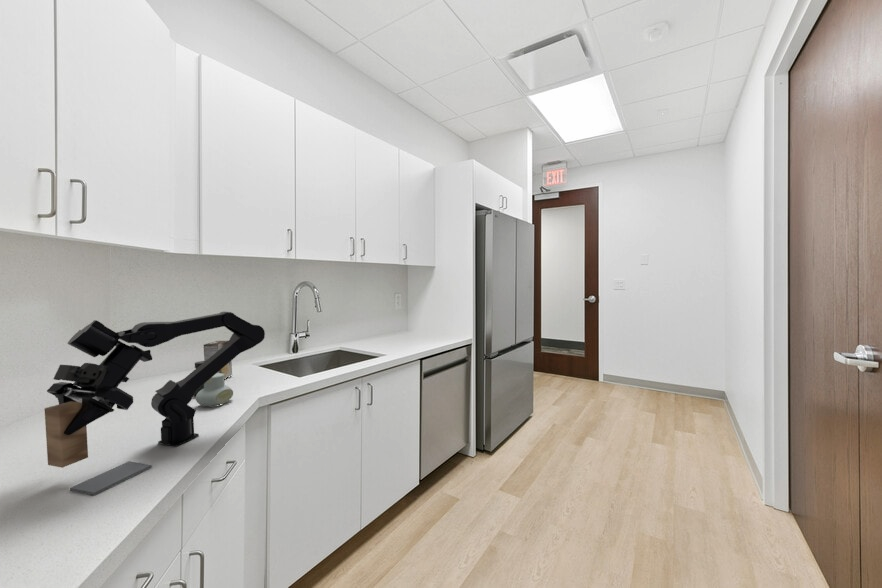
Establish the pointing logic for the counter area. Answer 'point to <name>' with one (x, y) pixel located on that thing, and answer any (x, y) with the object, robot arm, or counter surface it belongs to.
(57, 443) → the walnut block
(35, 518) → the counter surface
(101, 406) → the robot arm
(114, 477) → the rubber mat
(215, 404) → the air freshener
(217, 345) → the coffee box
